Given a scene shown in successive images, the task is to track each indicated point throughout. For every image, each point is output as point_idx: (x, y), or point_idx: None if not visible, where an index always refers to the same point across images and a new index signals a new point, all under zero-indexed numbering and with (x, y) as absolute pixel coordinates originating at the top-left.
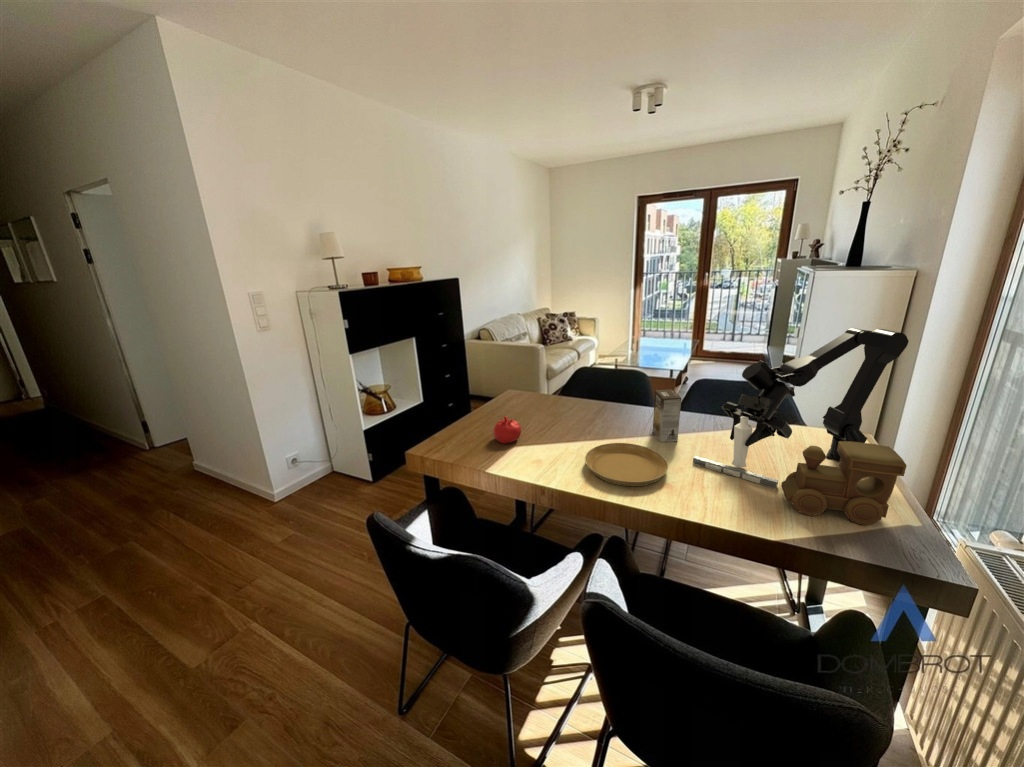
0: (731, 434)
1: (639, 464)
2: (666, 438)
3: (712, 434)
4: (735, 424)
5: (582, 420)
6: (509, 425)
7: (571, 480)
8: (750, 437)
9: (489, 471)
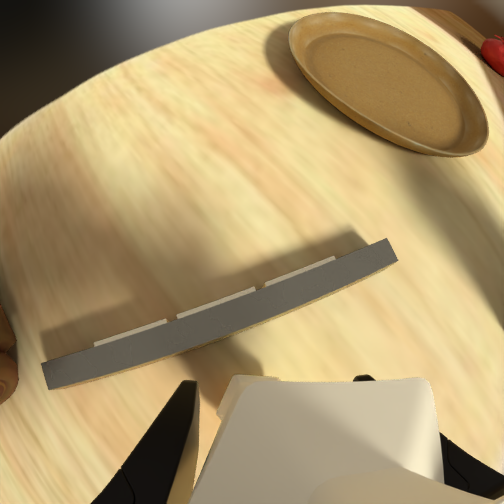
0: None
1: (401, 109)
2: None
3: None
4: (457, 473)
5: None
6: (500, 43)
7: None
8: (164, 443)
9: (407, 6)
